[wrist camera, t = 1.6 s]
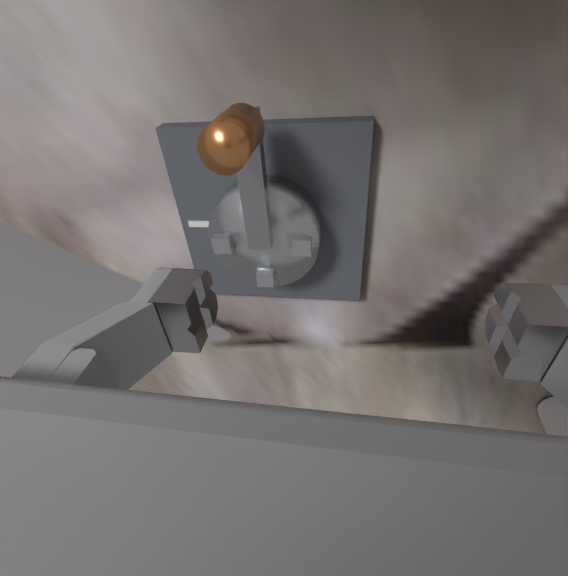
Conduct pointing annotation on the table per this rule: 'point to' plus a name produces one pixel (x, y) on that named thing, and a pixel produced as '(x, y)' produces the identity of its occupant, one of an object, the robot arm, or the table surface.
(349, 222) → the housing plate
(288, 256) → the lever
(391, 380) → the table surface
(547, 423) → the drinking glass
